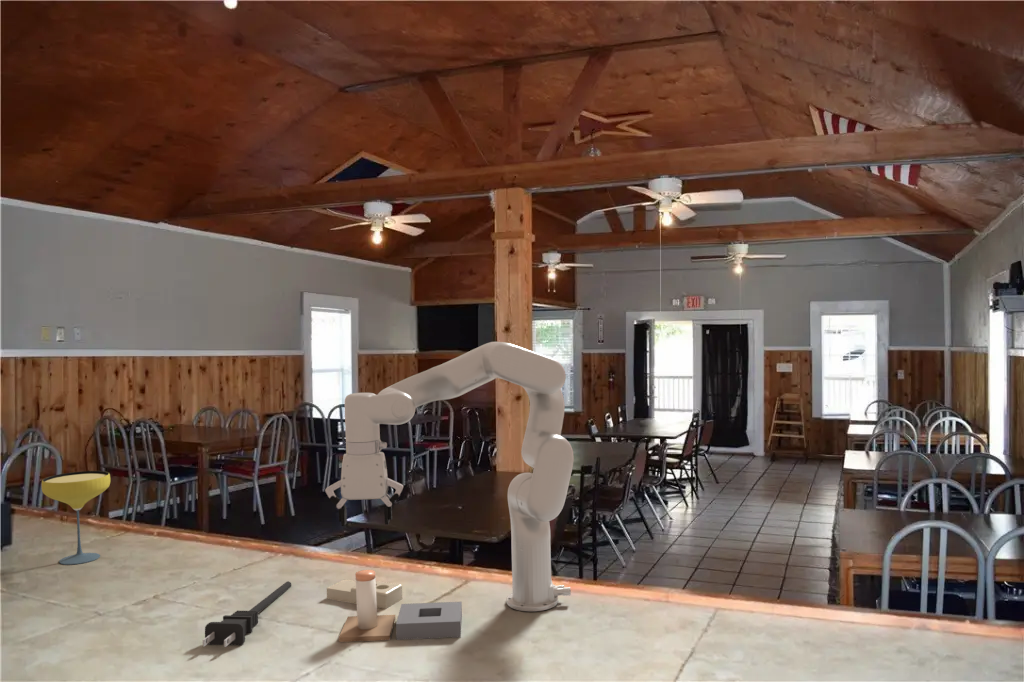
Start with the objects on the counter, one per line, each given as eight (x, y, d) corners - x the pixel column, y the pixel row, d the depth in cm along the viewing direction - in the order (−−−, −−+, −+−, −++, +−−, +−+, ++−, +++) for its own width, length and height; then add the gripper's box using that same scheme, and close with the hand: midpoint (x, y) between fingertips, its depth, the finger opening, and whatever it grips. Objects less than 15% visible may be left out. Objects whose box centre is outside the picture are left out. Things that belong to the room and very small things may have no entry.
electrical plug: (194, 654, 167) (194, 630, 167) (272, 594, 209) (272, 575, 209) (233, 655, 166) (233, 631, 166) (303, 594, 208) (303, 575, 208)
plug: (378, 621, 180) (376, 569, 180) (376, 628, 176) (374, 575, 175) (359, 622, 180) (356, 570, 180) (356, 629, 176) (354, 576, 175)
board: (395, 618, 184) (395, 614, 184) (389, 640, 172) (389, 635, 172) (348, 620, 184) (347, 616, 184) (338, 642, 172) (338, 637, 172)
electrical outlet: (344, 575, 205) (402, 584, 197) (344, 591, 205) (403, 600, 197) (326, 584, 198) (386, 593, 191) (327, 600, 199) (386, 610, 191)
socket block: (461, 616, 185) (461, 601, 185) (460, 637, 173) (460, 621, 173) (401, 618, 184) (401, 603, 184) (396, 639, 172) (396, 623, 172)
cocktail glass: (73, 549, 247) (69, 470, 246) (126, 550, 245) (123, 470, 244) (30, 568, 229) (26, 482, 228) (87, 569, 227) (83, 483, 226)
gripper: (403, 444, 181) (405, 518, 181) (327, 446, 180) (330, 521, 181) (400, 449, 173) (402, 526, 174) (320, 452, 172) (323, 529, 173)
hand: (365, 523), depth 177 cm, fingers open, 9 cm apart
